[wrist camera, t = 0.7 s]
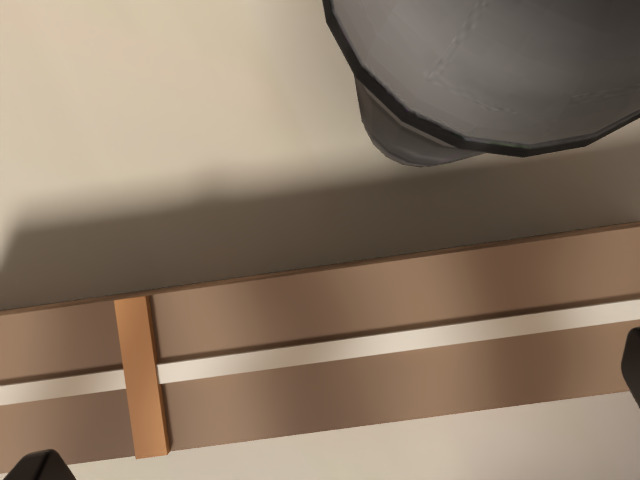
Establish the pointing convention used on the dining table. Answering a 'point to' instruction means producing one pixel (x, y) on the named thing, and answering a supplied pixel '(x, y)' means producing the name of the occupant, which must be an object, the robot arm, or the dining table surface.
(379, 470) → the dining table surface
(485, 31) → the beverage cup
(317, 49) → the dining table surface
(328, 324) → the slotted wooden bar
